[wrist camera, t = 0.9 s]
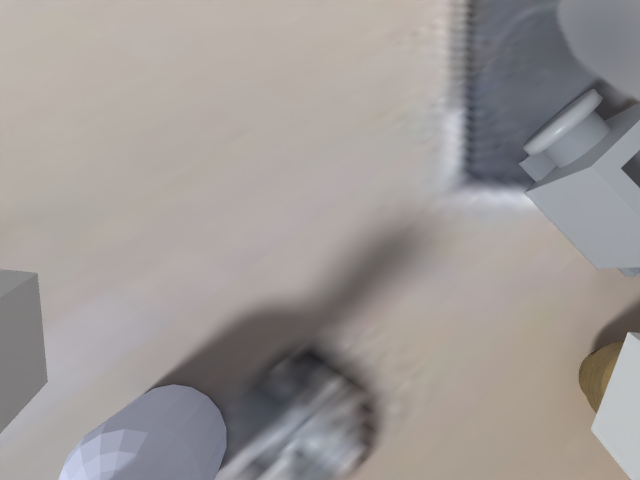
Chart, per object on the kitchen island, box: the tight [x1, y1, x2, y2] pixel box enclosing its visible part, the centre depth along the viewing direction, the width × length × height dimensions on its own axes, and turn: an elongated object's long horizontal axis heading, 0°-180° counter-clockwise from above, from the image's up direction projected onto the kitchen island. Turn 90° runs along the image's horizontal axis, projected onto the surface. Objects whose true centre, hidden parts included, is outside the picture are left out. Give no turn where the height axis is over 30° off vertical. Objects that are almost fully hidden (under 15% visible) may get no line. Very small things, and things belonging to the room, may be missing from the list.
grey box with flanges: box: [519, 89, 640, 276], centre depth 36 cm, size 16×9×10 cm, turn 42°
